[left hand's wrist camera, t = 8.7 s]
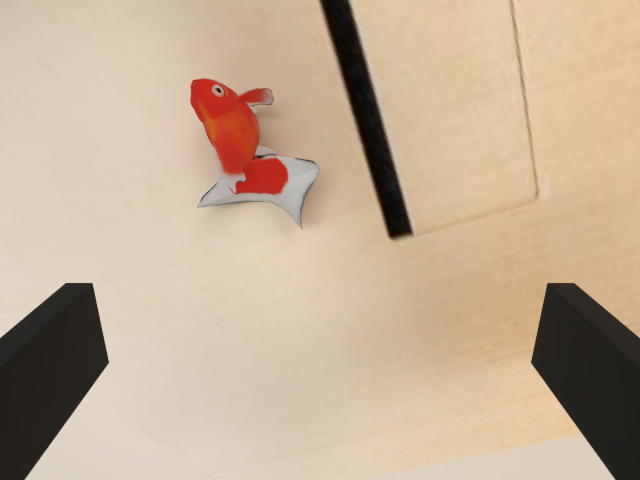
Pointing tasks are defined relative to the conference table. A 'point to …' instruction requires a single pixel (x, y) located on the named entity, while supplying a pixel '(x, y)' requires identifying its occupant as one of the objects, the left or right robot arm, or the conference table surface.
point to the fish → (247, 151)
